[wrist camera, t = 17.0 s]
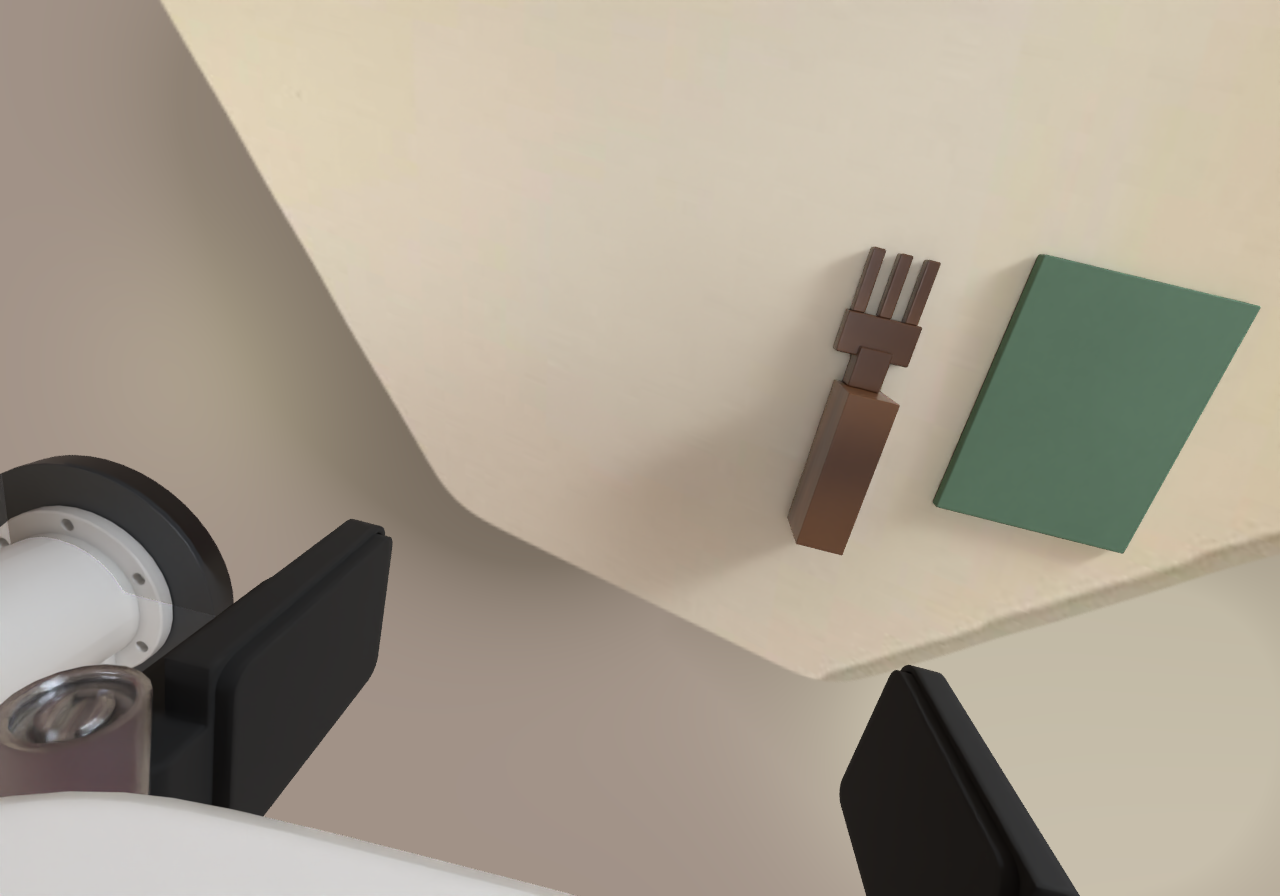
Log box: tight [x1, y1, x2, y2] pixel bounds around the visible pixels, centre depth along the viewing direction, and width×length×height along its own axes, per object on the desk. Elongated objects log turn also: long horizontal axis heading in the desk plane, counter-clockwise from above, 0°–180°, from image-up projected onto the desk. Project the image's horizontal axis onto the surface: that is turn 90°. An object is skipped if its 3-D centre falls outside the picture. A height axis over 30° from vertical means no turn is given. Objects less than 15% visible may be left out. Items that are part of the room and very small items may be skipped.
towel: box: [933, 255, 1261, 553], centre depth 29 cm, size 13×10×1 cm
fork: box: [787, 247, 941, 555], centre depth 29 cm, size 14×4×3 cm, turn 167°
